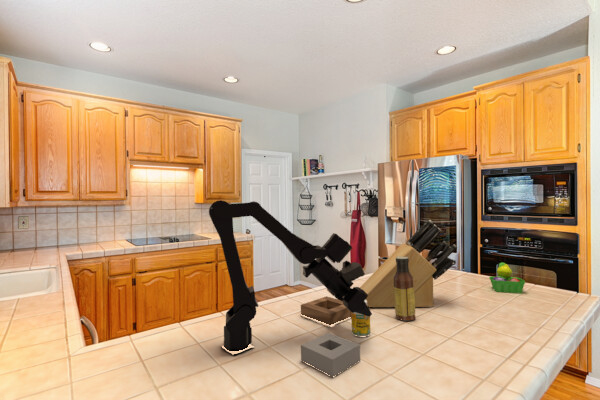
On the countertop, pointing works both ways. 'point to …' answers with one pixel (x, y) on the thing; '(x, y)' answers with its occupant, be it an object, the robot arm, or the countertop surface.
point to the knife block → (411, 269)
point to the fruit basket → (506, 281)
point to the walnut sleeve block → (326, 310)
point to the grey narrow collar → (330, 353)
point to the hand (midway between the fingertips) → (365, 310)
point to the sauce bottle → (404, 290)
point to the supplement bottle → (360, 324)
